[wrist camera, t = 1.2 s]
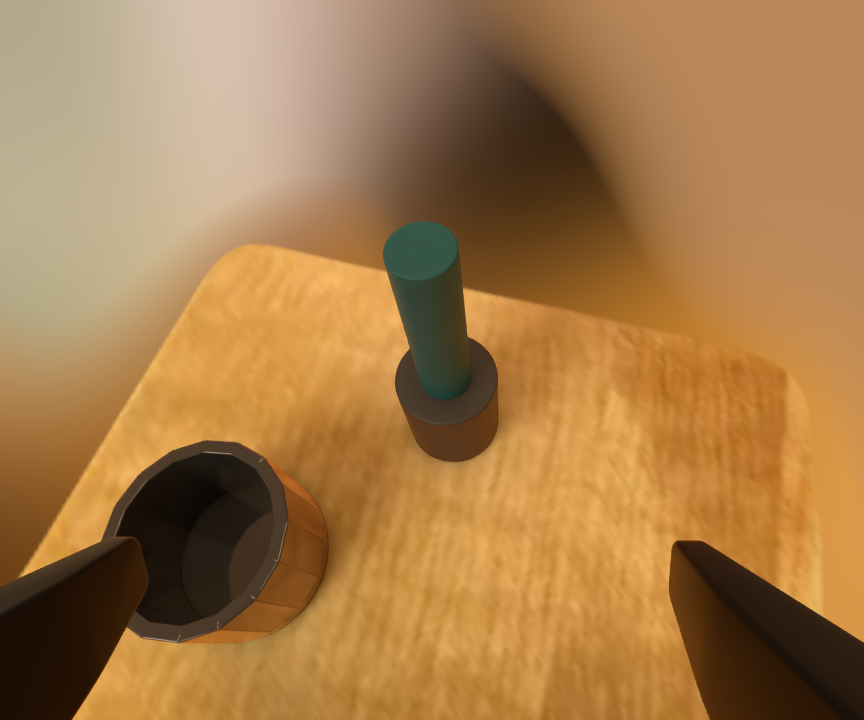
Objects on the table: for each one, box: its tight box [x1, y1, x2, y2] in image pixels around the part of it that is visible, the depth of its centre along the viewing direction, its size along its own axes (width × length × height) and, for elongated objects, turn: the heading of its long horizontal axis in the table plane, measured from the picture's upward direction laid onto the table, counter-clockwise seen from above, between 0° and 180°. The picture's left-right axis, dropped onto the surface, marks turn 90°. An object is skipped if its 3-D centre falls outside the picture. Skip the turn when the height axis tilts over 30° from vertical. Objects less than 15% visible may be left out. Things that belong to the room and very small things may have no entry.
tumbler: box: [101, 440, 328, 643], centre depth 20 cm, size 7×7×5 cm
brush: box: [383, 221, 498, 462], centre depth 19 cm, size 4×4×12 cm
